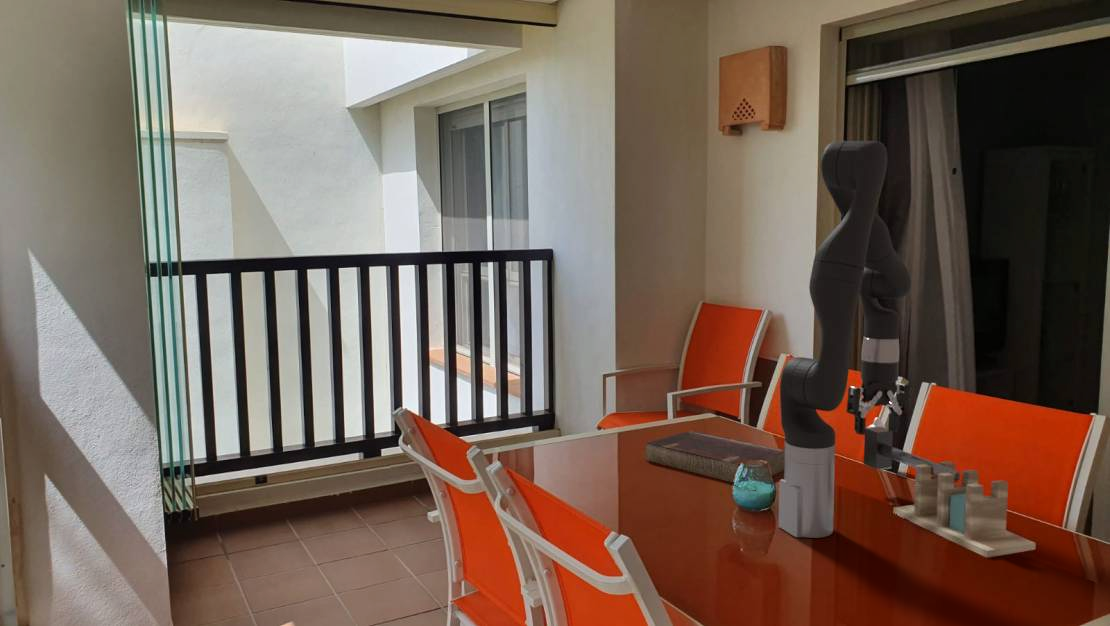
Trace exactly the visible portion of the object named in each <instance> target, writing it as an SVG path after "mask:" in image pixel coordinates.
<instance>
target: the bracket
mask: <svg viewBox="0 0 1110 626" xmlns="http://www.w3.org/2000/svg"><path fill="white" fill-rule="evenodd" d="M938 464H940V465H943V466H945V467H948V468H951V469H953V470H955V469H956V468H955V467H956V463H955V462H952V461H950V460H949V461H948V460H947V461H941V462H939V463H938ZM961 475H962V476H961V484H955V483H954V475H953V474H950V473H941V474H938V477H937V476H935V475H932V474H931V466H929V465H927V464H922V465H916V468H915V479H914V481H915V486H914V487H915V488H914V504H910V505H902V506H895V507H893V509H892V510H893V512H892V513H893V514H894V513H895V514H894V515H896V514H897V515H896V516H898V517H900V518H902V519H904V518H905V519H904V520H906V519H907V521H908V520H909V521H908V522H910V523H912V524H915V525H917V526H919V527H921V528H923V529H926V530H928V531H929V532H932V533H934V534H936V535H938V536H940V537H942V538H944V539H946V540H948V541H951V542H952V543H955V544H956V545H959V546H961V547H963V548H965V549H967V550H970V551H971V552H974V553H976V554H978V555H980V556H982V557H984V558H993V557H999V556H1004V555H1005V556H1006V555H1012V554H1015V553H1016V554H1017V553H1023V552H1029V551H1034V550H1036V542H1035V541H1032V540H1029V539H1027V538H1025V537H1022V536H1020V535H1017V534H1016V533H1013V532H1011V531H1009V530H1007V517H1008V515H1007V514H1008V513H1007V512H1008V495H1009V492H1008V491H1009V482H1008V481H1005V480H1003V479H1000V480H999V479H998V480H991V482H990V483H991V484H990V495H985V496H984V497H983V495H984V485H982V484H979V471H977V470H974V469H965V470H962V472H961ZM962 493H966V509H965V532H964V533H962V532H960V531H958V530H955V529H953V528H951V527H949V526H950V502H951V495H955V494H962Z"/></svg>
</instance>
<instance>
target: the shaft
mask: <svg viewBox="0 0 1110 626" xmlns="http://www.w3.org/2000/svg"><path fill="white" fill-rule="evenodd" d="M893 433H894V432H893V431H891V430H889V429H888V428H887V427H886V428H883V427H873V428H867V427H865V434H864V442H863V443H864V444H863V445H864V447H863V449H864V450H863V451H864V452H863V465H865V466H867V467H870V468H873V469H875V470H883V469H882V468H890V467H893V466H892V465H893V461H896V462H898V463H901V464H904V465H906V466H909V467H911V468H914V469H916V465H922V464H927V465H929V466H931V476H937V477H938V474H941V473H950V474H953V475H954V484H956V483H958V481H959V480H960V476H961V474H960V472H959V471H958V470H953V469H951V468H948V467H945V466H943V465H940V464H939V463H936V462H934V461H931V460H929V459H926V458H923V457H921V456H918V455H915V454H913V453H909V452H906V451H904V450H902V449H899V448H897V447H893V437H894V434H893Z"/></svg>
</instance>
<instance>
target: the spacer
mask: <svg viewBox="0 0 1110 626" xmlns="http://www.w3.org/2000/svg"><path fill="white" fill-rule="evenodd" d="M984 496H986V495H985V494H983V497H984ZM965 509H966V493H962V494H955V495H951V502H950V526H949V527H951V528H953V529H955V530H958V531H960V532H962V533H964V532H965Z"/></svg>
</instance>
